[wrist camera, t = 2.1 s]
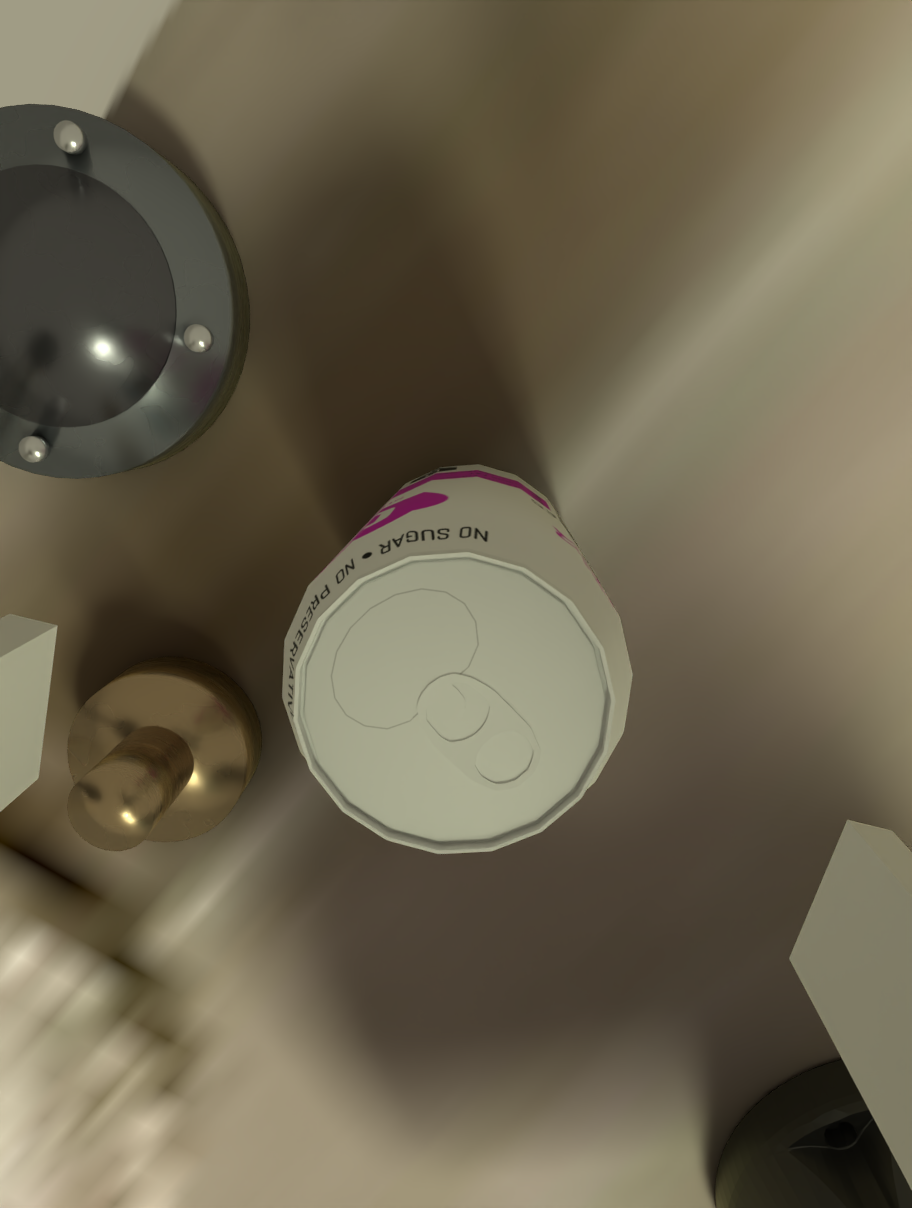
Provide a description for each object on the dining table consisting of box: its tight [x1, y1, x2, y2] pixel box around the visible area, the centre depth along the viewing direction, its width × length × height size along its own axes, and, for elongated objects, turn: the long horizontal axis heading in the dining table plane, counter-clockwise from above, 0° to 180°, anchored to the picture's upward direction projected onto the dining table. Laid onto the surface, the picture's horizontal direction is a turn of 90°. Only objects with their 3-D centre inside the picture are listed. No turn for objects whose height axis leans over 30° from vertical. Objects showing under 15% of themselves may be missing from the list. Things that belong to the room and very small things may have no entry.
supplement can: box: [282, 464, 633, 854], centre depth 25 cm, size 8×8×15 cm
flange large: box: [0, 104, 250, 479], centre depth 29 cm, size 12×12×3 cm
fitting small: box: [67, 656, 262, 851], centre depth 31 cm, size 7×7×6 cm
